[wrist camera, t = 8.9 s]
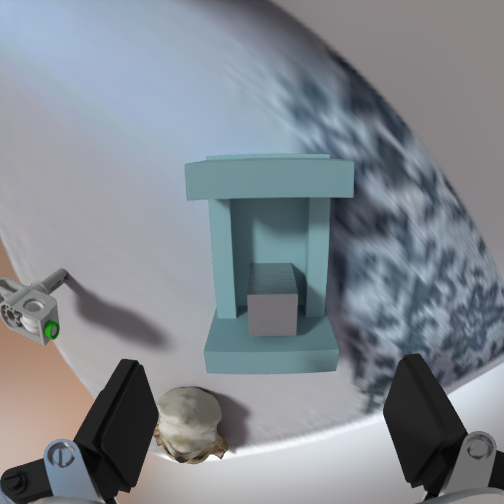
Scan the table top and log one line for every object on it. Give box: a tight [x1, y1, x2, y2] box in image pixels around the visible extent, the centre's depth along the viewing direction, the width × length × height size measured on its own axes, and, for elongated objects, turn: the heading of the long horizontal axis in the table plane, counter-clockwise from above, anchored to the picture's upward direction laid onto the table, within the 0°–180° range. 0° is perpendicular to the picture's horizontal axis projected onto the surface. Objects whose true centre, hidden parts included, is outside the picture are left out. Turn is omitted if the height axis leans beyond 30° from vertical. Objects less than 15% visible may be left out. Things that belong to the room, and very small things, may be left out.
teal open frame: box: [185, 154, 354, 374], centre depth 23 cm, size 16×10×8 cm, turn 2°
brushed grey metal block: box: [247, 263, 298, 336], centre depth 24 cm, size 4×4×6 cm
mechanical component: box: [0, 269, 67, 345], centre depth 24 cm, size 3×10×10 cm, turn 77°
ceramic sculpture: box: [153, 387, 228, 464], centre depth 31 cm, size 11×9×15 cm
